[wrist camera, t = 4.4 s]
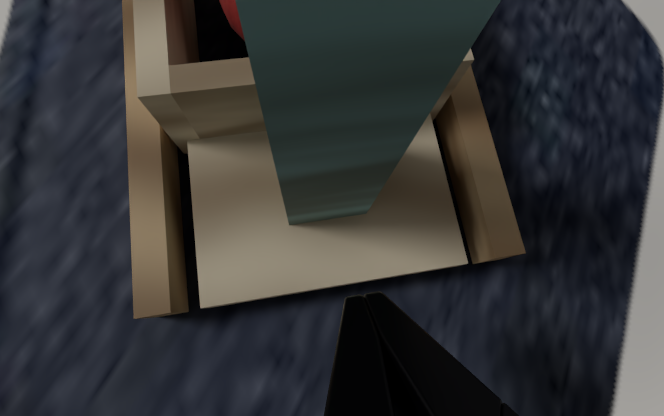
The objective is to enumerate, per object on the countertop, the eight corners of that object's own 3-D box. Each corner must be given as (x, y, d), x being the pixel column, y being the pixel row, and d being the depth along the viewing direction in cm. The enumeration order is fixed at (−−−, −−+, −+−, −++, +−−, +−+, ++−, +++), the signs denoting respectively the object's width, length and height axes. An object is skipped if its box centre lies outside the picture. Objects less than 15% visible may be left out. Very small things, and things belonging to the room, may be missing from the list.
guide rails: (499, 259, 16) (525, 253, 14) (157, 317, 14) (133, 318, 13) (388, -146, 22) (396, -190, 20) (134, -132, 20) (115, -179, 18)
